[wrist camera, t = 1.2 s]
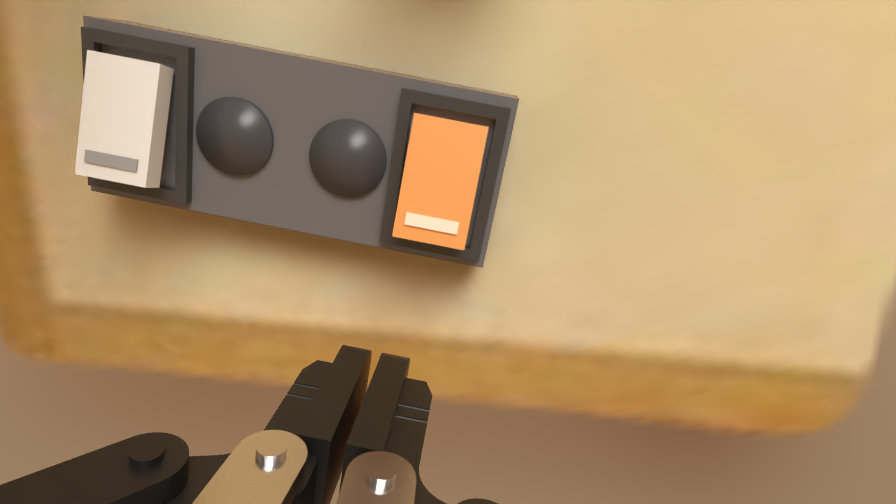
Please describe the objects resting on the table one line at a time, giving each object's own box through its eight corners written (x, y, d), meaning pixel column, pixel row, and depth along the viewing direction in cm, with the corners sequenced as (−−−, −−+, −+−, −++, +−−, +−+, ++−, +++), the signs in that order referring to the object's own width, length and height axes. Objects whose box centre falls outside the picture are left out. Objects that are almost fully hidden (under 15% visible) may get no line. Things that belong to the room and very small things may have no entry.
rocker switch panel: (122, 20, 30) (74, 14, 26) (516, 95, 29) (519, 99, 26) (125, 179, 33) (83, 192, 29) (483, 249, 32) (482, 271, 29)
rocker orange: (416, 115, 27) (413, 112, 26) (487, 129, 27) (488, 126, 25) (395, 233, 28) (391, 236, 26) (464, 247, 28) (464, 250, 26)
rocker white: (104, 55, 27) (85, 49, 26) (173, 69, 27) (158, 63, 26) (91, 174, 28) (72, 173, 27) (159, 187, 28) (143, 187, 26)
